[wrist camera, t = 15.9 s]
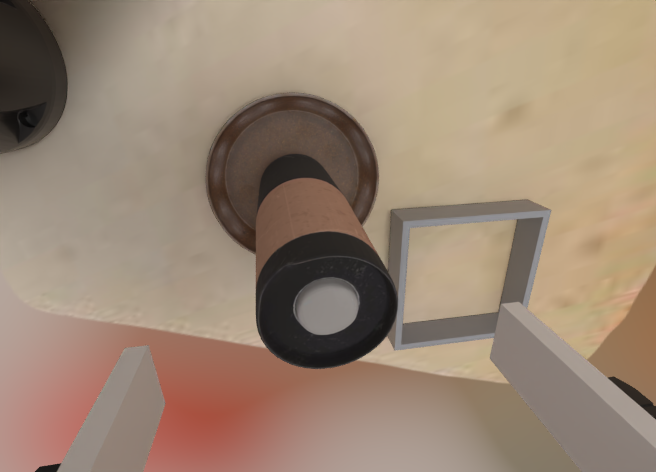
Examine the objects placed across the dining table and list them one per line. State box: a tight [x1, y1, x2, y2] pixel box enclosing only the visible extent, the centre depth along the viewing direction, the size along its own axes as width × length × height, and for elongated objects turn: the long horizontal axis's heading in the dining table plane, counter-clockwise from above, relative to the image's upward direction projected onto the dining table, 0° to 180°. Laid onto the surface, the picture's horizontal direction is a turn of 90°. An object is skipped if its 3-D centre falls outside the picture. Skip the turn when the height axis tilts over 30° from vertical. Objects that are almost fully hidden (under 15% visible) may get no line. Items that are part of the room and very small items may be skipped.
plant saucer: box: [206, 93, 379, 254], centre depth 37 cm, size 18×18×3 cm
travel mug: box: [256, 154, 398, 369], centre depth 27 cm, size 8×8×20 cm
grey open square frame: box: [387, 200, 551, 350], centre depth 44 cm, size 18×18×4 cm
